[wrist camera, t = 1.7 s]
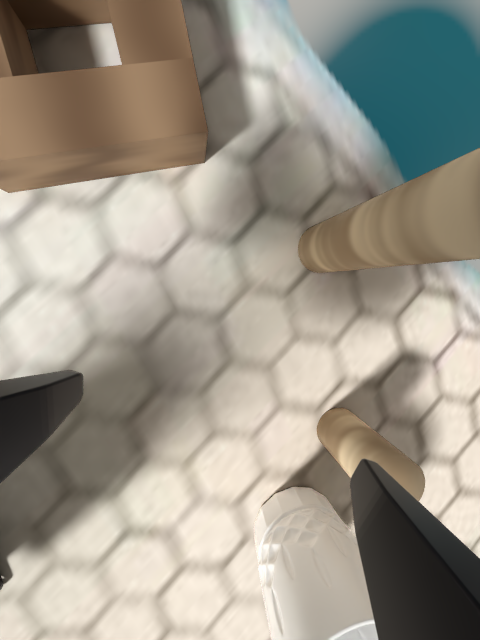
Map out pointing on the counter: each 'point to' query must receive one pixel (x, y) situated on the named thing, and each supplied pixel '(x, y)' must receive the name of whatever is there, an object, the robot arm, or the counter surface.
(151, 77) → the walnut socket block
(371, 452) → the short oak dowel
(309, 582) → the white cup
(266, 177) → the counter surface
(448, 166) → the tall oak dowel
